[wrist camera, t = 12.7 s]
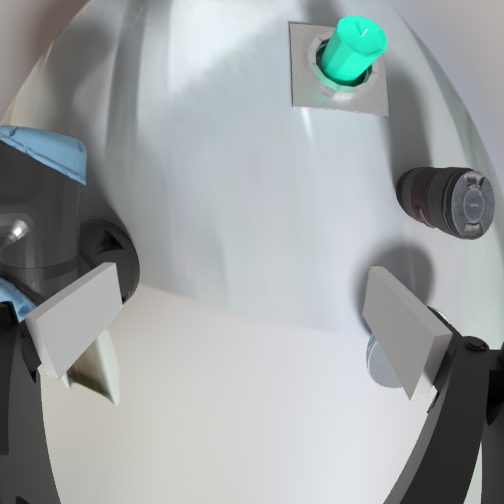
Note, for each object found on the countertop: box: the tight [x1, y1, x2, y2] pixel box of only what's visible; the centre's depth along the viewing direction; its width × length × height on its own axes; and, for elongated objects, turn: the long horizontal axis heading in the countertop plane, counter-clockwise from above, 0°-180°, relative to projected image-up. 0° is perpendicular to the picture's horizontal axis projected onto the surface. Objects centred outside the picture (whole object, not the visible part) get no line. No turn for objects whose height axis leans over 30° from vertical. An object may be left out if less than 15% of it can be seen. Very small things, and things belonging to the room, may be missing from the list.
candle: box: [321, 16, 387, 83], centre depth 26 cm, size 6×6×12 cm
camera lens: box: [396, 167, 495, 240], centre depth 30 cm, size 8×8×15 cm
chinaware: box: [366, 306, 449, 388], centre depth 40 cm, size 15×15×8 cm
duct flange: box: [290, 24, 389, 117], centre depth 31 cm, size 14×14×3 cm
